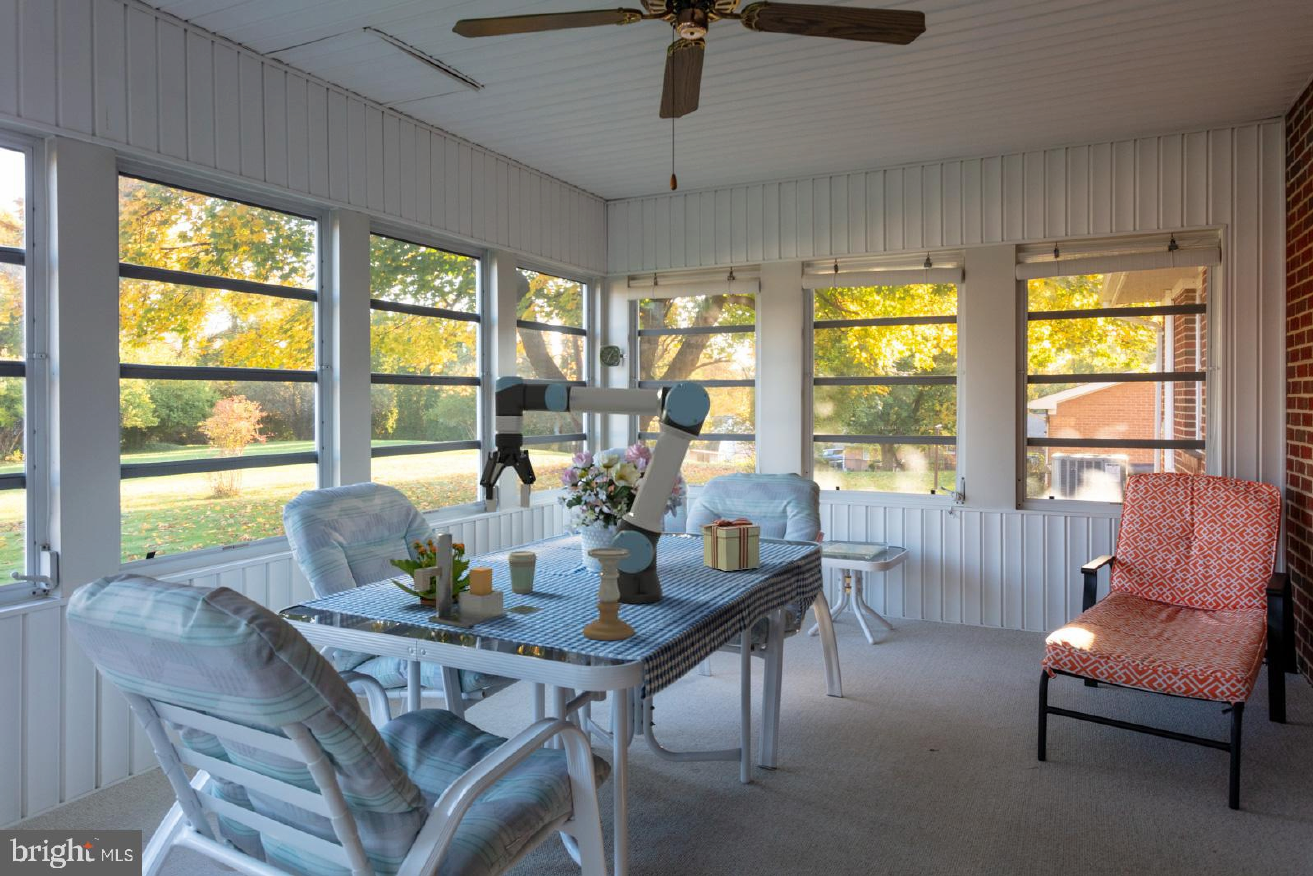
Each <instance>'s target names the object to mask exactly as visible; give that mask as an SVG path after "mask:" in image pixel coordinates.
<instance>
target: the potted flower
mask: <svg viewBox="0 0 1313 876" xmlns="http://www.w3.org/2000/svg"><path fill="white" fill-rule="evenodd" d="M424 544H425V545H426V547H428V548H429V550H428V548H426V547H424ZM424 544H421V542H420V541H415V542H413V543H412V546H413V547H412V550H416V551H417V552H416V553H417V554H418V556H417V557H416V560H415V559H413V560H412V561H411V559H408V558H407V559H406V558H405V559H404V560H403V559H397V560H395V559H394V558H389V563H390V565H391V566H393V567H395V568H398V569H401V570H402V571H403V572H405V573H407V574H408V575H409V576H410V577H411V579H413V582H414V570H416V569H421V568H422V569H424V568H429V567H434V566H436V546H435V545H434V541H433V540H432V539H431V538H428V539H427V541H426V542H425V543H424ZM465 545H466V544H465V543H462V542H460V543H457V542H452V550H453V553H452V604H454V603H455V602H456V601H458V593H461V592H465V591H469V590H470V572H468V573H467V575H466V576H465V577H464V578H463V579H460V578H461V577H462V576H463V572H465V571H467V570H468V569H469V568H470V562H471V560H470V558H468V559H466V560H465V561H462V557H463V555H465V554H466V553H465V552H466V547H465ZM427 550H428V551H427ZM456 558H457V559H456ZM390 581H391V582H392V583H393V584H394V585H396V586H397V587H398V588H400V589H401V590H402V591H404V592H406V593H407V594H409V595H412V596H414V597H417V598H419V601H420V603H421V605H423V606H429V607H430V606H431V607H433V606H434V607H435V606H436V576H433V577H430V590H426V591H418V590H414V589H412V588H409V587H408V586H407V585H406V586H405V584H402V583H401V582H399V581H397V580H395V579H390ZM408 584H409V585H410V587H414V584H411V583H408Z"/></svg>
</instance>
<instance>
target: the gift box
mask: <svg viewBox="0 0 1313 876" xmlns="http://www.w3.org/2000/svg"><path fill="white" fill-rule="evenodd" d="M699 527H700V528H701V530H702V531H701V534H702V535H703V536H702V537H703V538H702V539H703V540H702V541H703V547H702V548H703V555H702V556H703V566H704V565H707V566H710V567H712V568H718V569H721V570H724V571H731V570H736V569H742V568H753V567H759V566H760V536H761V526H760V525H754V524H753V523H752V521H750V520H749V519H747V518H746V517H739V518H736V519H734V520H732V521H731V520H729V519H724V518H723V519H722V518H721V519H720V518H719V519H714V520H713V521H712V524H711V523H710V524H702V525H699ZM712 568H711V569H712ZM759 568H760V567H759ZM724 571H723V572H724ZM731 572H732V571H731Z"/></svg>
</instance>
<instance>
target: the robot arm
mask: <svg viewBox="0 0 1313 876" xmlns="http://www.w3.org/2000/svg"><path fill="white" fill-rule="evenodd" d="M494 389H495V390H494V401H495V403H494V405H495V409H494V410H495V419H494V420H495V422H494V423H495V428H494V430H495V432H497V433H495V435H494V446H495V447H496V448H497V450H489V451H488V453H487V461H486V464H485V466H484V469H483V473H482V475H481V478H480V481H479V486H482V488H485V500H486V512H487V513H497V487H495V486H496V483H497V482H498V481H499V479H500V477H501V476H502V473H503V472H504V470H505V469H506V468H509V467H512V468H514V470H515V472H516V474H517V475H518V477H519V479H520V480H521V483H522V484H520V508H526V509H529V508H530V507H531V506H530V501H531V500H530V499H531V498H530V496H531V489H532V488H531V485H534V483H535V482H536V481H537V478H536V475H535V471H534V469H533V466H532V462H531V460H530V455H529V449H523V448H522V449H521V447H523V445H524V444H523V443H524V438H523V436H524V435H523V433H522V432H523V431H524V417H523V416H524V412H551V413H576V414H577V413H578V414H579V413H583V414H603V415H605V414H606V415H607V414H608V415H626V416H627V415H628V416H643V417H644V416H646V417H650V416H651V417H657V418H658V422H657V423H658V425H659V429H660V432H659V434H658V438H657V439H656V442H655V445H654V448H653V451H652V453H651V456H650V458H649V461H648V464H647V466H646V469H645V472H644V473H643V474H644V475H643V477H642V480H641V482H640V484H639V488H638V490H637V493H636V496H635V498H634V500H633V503H632V506H631V508H630V511H629V512H627V513H625V514H623V515H622V517H621V518H620V519H618V520H617V524H616V529H615V530H616V532H615V535H614V537H613V539H611V541H610V544H609V548H621V549H627V550H629V551H630V552H631V554H630V556H628V557H626V558H620V561H619V563H618V564H617V565H616V571H617V572H618V573H619V577H618V578H617V585H618V589H619V592H620V597H619V599H618V600H617V601H618V602H619V603H624V604H650V603H655V602H659V601H661V600H663V588H662V585H661V581H660V578H659V574H658V569H657V568H658V564H657V563H658V557H657V556H658V554H657V553H658V543H659V541H660V538H661V535H662V534H663V533H662V532H663V529H662V527H661V525H660V523H661V521H662V518H663V515H664V512H665V510H666V508H667V507H666V506H667V504H668V503H669V499H670V496H671V494H672V491H673V488H674V486H675V483H676V481H677V478H678V475H679V473H680V470H681V468H682V464H683V462H684V460H685V457H686V455H687V451H688V449H689V447H690V444H691V442H693V440H697V439H699V435H700V433H701V431H702V429H703V426H704V424H705V421H706V418H707V416H708V414H709V412H710V410H711V399H710V396H709V395H710V394H709V393H708V391H707V390H706V388H705V387H704V386H702V385H701V384H699V383H697V382H694V381H690V380H686V381H681V382H678V383H676V384H675V385H673V386H663V385H662V386H661V387H659V388H658V389H647V388H646V389H645V388H624V387H623V388H619V387H618V388H617V387H594V386H574V385H573V386H571V385H570V386H569V385H565V384H561V383H560V384H559V383H554V382H553V383H524V379H523V377H522V376H516V375H515V376H514V375H513V376H512V375H511V376H510V375H507V376H506V375H505V376H504V375H501V376H497V378H496V379H495V388H494Z"/></svg>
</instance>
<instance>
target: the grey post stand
mask: <svg viewBox="0 0 1313 876" xmlns="http://www.w3.org/2000/svg"><path fill="white" fill-rule="evenodd" d="M435 540H436V541H435V543H436V544H435V545H436V566H434V567H429V568H424V569H422V568H421V569H416V570H414V579H413V580H414V581H413V585H414V586H413V591H417V592H418V591H426V590H430V577H433V576H436V607H435V611H436V613H435V615H432V616H428V618H427V619H428V622H431V623H436V624H440V625H446V626H450V627H451V626H452V627H457V628H462V629H466V630H467V629H468V630H470V629H473V628H476V626H475V625H478V624H479V625H480V624H483V623H486V622H489V621H493V620H496V619H500V618H502V617H506V616H508V613H507V612H506V613H504V611H503V610H504V590H498V589H492V593H489V594H485V595H476V594H470V590H469V591H465V592H461V593H458V602H457V603H458V605H457V607H458V609H455V610H453V603H452V555H453V549H452V543H453V533H450V532H448V533H446V532H443V533H437V534H436V536H435Z"/></svg>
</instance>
